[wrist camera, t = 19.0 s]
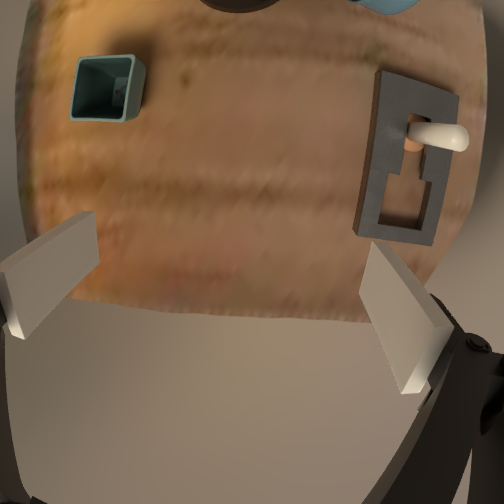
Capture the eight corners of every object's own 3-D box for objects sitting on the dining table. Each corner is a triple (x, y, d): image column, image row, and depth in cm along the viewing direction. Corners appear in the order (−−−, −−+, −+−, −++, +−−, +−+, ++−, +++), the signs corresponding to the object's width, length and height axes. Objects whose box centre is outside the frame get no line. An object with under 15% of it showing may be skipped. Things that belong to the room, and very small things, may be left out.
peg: (394, 107, 38) (441, 104, 25) (428, 117, 38) (481, 120, 25) (389, 146, 41) (433, 157, 28) (423, 154, 41) (474, 170, 28)
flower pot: (160, 64, 38) (135, 53, 29) (150, 121, 41) (124, 122, 33) (108, 65, 38) (77, 57, 29) (100, 118, 41) (68, 120, 33)
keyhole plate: (375, 73, 36) (382, 70, 34) (449, 96, 36) (459, 95, 34) (352, 229, 46) (357, 235, 43) (423, 239, 46) (431, 246, 43)
